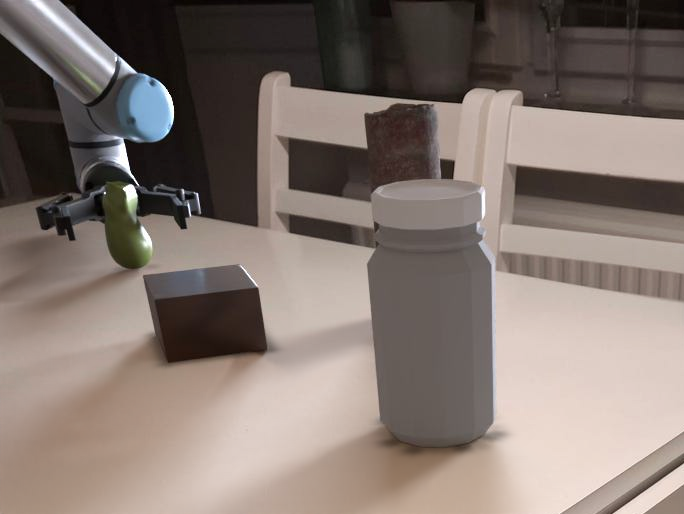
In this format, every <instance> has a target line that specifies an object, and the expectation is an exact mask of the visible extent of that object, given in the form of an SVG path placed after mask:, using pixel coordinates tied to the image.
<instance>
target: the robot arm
mask: <svg viewBox="0 0 684 514" xmlns="http://www.w3.org/2000/svg"><path fill="white" fill-rule="evenodd" d="M0 35H1V36H3V37H4V38H5V39H6V40H7V41H8V42H10V43H11V44H12V45H13V46H14V47H15V48H17V49H18V50H19V51H21V53H22V54H24V55H25V56H26V57H28V59H30V60H31V61H32V62H33V63H34V64H36V65H37V66H38V67H39V68H40V69H42V70H43V71H44V72H45V73H46V74H47V75H49V77H50V78H52V79H53V88H54V91H55V94H56V96H57V100H58V104H59V109H60V113H61V116H62V120H63V124H64V128H65V133H66V136H67V140H68V147H69V151H70V155H71V159H72V164H73V167H74V176H75V179H76V185H77V188H78V190H79V191H80V193H81V195H80V197H78V198H74V197H73V194H72V193H71V194H69V193H68V192H65V191H61V192H60V193H59V194H58V196H56V197H54V198H52V199H50V200H48V201H46V202H44V203H42V204H40V205H38V206H36V207H35V212H36V216H37V219H38V223H39V226H40V230H42V231H49V230H50V229H53V228H54V227H55V230H56V233H57V236H59V237H63V236H67V238H68V241H69V242H74V241H76V240H77V239H76V235H75V232H74V228H73V226H76V225H79V224H81V223H84V222H87V221H89V222H100V223H102V224H103V225H105V211H104V208H103V193H104V192H105V187H106V181H107V182H117V181H120V182H123V183H126V184H127V185H131V184H132V186H133V187H134V189H135V190H136V194H137V208H136V215H137V218H138V217H139V218H144V217H148V216H151V215H158V216H166V217H167V216H168V217H173V220H174V222H175V223H176V224H177V226H178V227H179V229H180V230H188V225H187V220H186V219H189V218H192V216H195V217H197V216H200V215H201V214H202V211H201V206H200V200H199V193H198V192H195V191H190V190H189V191H188V190H184V188H174V187H170V186H166V184H162V183H157V184H156V185H155V186H154V187H153V191H149V190H147V188H146V187H145V186H140V185H139V184H138V182H137V180H136V178H135V177H134V175H133V174H132V173H131V170H130V165H129V160H128V156H127V149H126V145H125V141H124V139H125V140H129V141H131V142H134V143H139V144H141V143H156V142H159V141H161V140H162V139H164V138H165V137H166V136H167V135H168V134H169V132H170V131H171V128H172V126H173V124H174V123H173V122H174V117H175V115H174V114H175V111H174V105H173V100H172V97H171V95H170V94H169V92H168V89H166V87H165V86H164V85H163V84H162V83H161V82H160V81H159V80H157V79H156V78H154V77H151V76H150V75H147V74H145V73H141V72H137V71H136V70H135V69H134V68H132V66H130V65H129V64H128V63H127V62H126V61H125V60H124V59H123V58H122V57H120V55H118V54H117V52H115V51H113V50H112V49H111V48H110V46H108V45H107V44H106V43H105V42H104V41H103V40H102V39H101V38H100V37H99V36H98V35H96V34H95V33H94V32H93V31H92V30H91V29H90V28H89V27H88V26H87V25H86V24H85V23H83V22H82V20H81V19H79V17H77V15H75V14H74V13H73V12H72V11H71V10H70V9H69V8H68V7H67V6H66V5H64V3H62V1H60V0H0Z"/></svg>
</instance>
